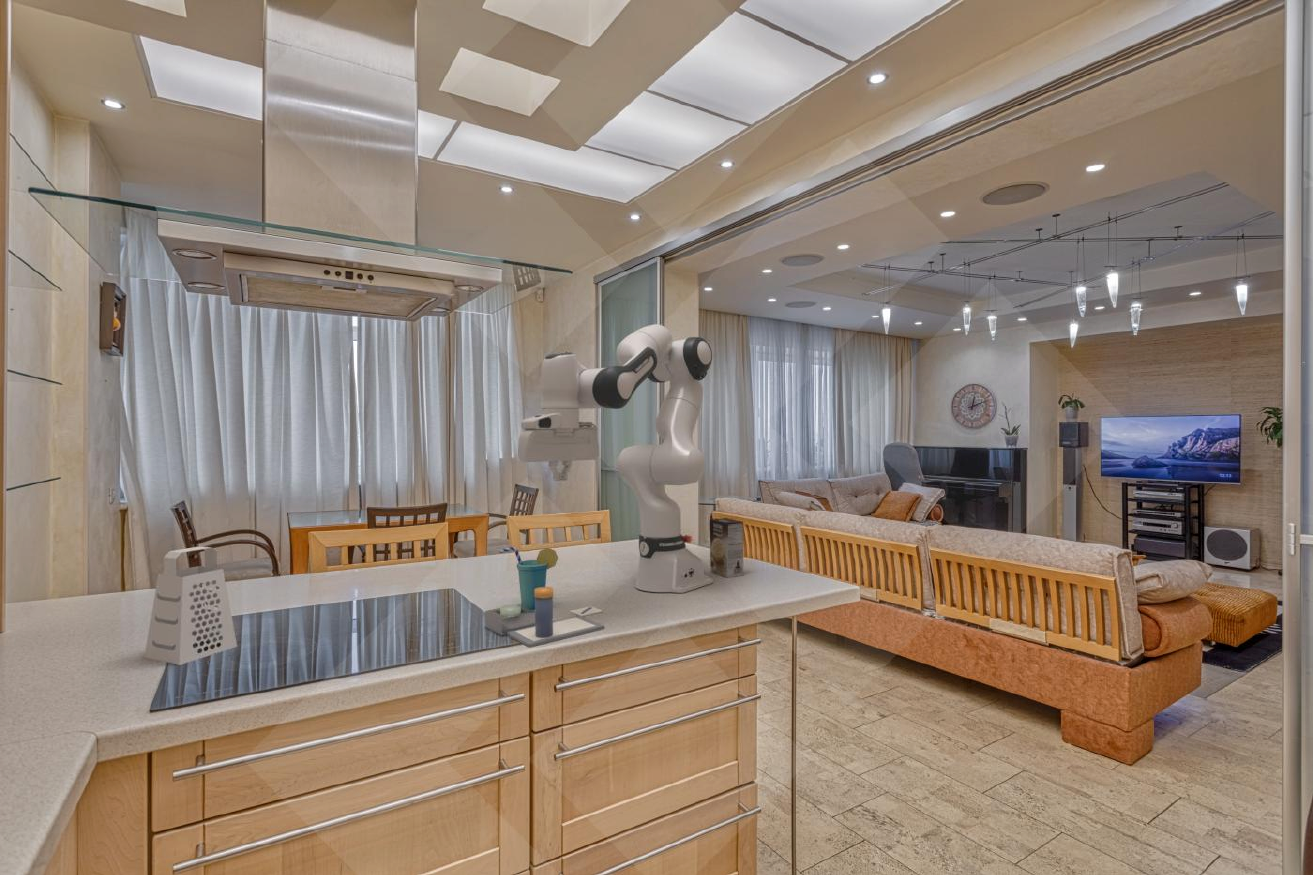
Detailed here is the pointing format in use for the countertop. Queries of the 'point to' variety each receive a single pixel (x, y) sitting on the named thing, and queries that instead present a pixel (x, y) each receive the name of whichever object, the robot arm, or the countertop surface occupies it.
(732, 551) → the coffee box
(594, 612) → the card
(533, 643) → the board
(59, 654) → the countertop surface
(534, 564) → the cup
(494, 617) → the button housing
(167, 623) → the grater
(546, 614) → the orange capped blue bottle
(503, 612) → the button
